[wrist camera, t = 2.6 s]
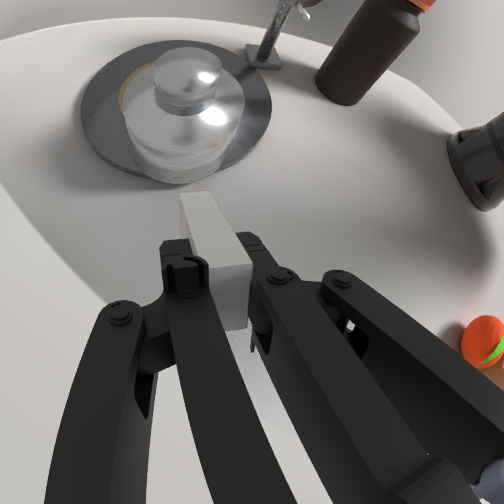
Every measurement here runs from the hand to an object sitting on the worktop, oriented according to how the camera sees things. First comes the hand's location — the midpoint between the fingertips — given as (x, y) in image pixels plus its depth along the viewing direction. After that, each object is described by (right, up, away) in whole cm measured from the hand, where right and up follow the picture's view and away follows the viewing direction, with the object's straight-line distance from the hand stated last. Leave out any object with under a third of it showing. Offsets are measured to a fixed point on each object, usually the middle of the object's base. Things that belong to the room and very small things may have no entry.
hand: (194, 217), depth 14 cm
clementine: (+31, -14, +15) cm, 37 cm away
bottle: (+14, +20, +19) cm, 31 cm away
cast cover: (-4, +8, +10) cm, 13 cm away
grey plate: (-5, +14, +12) cm, 19 cm away
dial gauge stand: (+4, +21, +16) cm, 27 cm away
